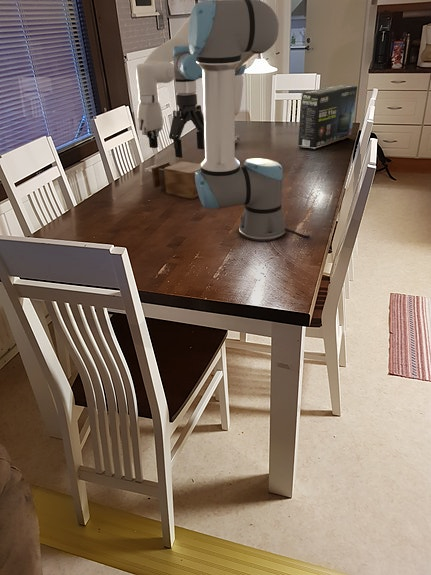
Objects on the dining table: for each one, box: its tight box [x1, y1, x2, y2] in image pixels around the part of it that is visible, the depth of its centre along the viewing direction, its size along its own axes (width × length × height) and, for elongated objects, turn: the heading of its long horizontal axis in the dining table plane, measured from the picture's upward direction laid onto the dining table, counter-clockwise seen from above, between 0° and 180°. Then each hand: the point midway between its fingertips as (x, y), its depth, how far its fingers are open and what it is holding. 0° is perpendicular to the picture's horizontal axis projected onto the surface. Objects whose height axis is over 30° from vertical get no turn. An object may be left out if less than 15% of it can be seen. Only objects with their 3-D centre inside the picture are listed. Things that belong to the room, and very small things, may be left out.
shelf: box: [143, 161, 173, 189], centre depth 189 cm, size 18×10×8 cm, turn 55°
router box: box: [297, 84, 358, 151], centre depth 238 cm, size 36×11×27 cm, turn 134°
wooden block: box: [164, 160, 201, 200], centre depth 183 cm, size 13×11×10 cm
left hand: (153, 147), depth 186 cm, fingers closed
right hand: (190, 153), depth 176 cm, fingers open, 13 cm apart
